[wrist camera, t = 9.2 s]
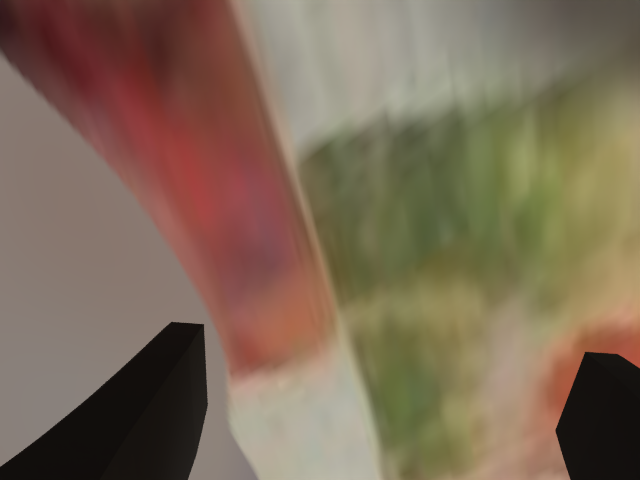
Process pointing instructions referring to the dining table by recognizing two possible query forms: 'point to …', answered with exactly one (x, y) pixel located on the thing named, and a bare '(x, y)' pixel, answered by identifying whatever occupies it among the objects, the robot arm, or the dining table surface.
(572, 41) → the dining table surface
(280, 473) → the dining table surface
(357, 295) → the dining table surface
